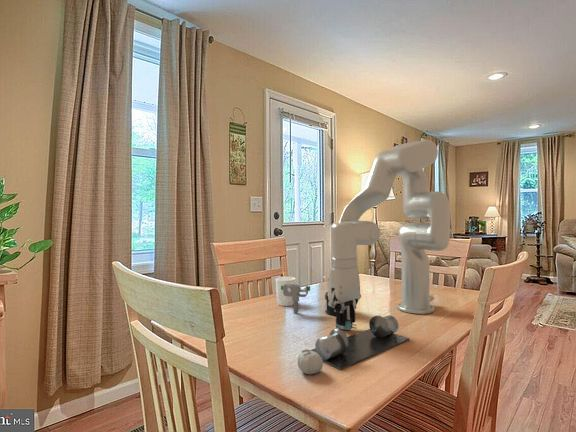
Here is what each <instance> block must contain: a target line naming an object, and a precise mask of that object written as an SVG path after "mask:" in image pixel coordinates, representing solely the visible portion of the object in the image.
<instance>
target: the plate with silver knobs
mask: <svg viewBox="0 0 576 432" xmlns="http://www.w3.org/2000/svg"><path fill="white" fill-rule="evenodd" d="M368 326H369V328H367V329H366V330H363V331H359V332H358V333H355V334H352V335H349V336H348V335H347V334H346V332H345V331H344V330H343V329H339V328H335V329H332V330H331V331H330V333H329V334H328V335H326V336H323V337H320V338H317V340H316V341H315V344H314V347H315V348H312V349H310V350H309V349H308V350H309V351H314V352H316V353H317V354H319V355H320V357H321V358H322V360H323V363H325V364H327V365H328V366H331V367H334V368H336V369H337V370H340V371H343V370H345V369H347V368H349V367H351V366H354V365H356V364H358V363H361V362H363V361H365V360H368V359H370V358H372V357H375V356H377V355H379V354H381V353H383V352H386V351H388V350H391V349H393V348H394V347H397V346H400V345H402V344H404V343H406V342H409V341H410V337H407V336H403V335H401V334H396V332H398V330H399V322H398V320H397V318H395V316H393V315H386V316H380V315H375V316H372V317H371V318H370V320H369V325H368Z"/></svg>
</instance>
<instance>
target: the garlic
mask: <svg viewBox="0 0 576 432" xmlns="http://www.w3.org/2000/svg"><path fill="white" fill-rule="evenodd" d="M323 366H324V362H323V360H322V358H321V357H320V355H319V354H317V353H316V352H314V351H309V349H308V348H305V349H302V350H301V353H300V352H299V354H298V357H297V367H298V369H299V370H300V371H301V372H302V373H304V374H307V375H314V374H317V373H318V372H320V371H322V370H323Z"/></svg>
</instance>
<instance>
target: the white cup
mask: <svg viewBox="0 0 576 432" xmlns="http://www.w3.org/2000/svg"><path fill="white" fill-rule="evenodd" d="M296 279H297V278H296V277H294V276H278V277H275V291H276V303H277V305H278V306H282V307H289V306H294V304H293V301H292V297H289V296H284V294H283V290H281V285H284V284H296V282H297V281H296ZM287 290H288V291H291V289H290V288H288V289H287Z"/></svg>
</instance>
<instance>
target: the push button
mask: <svg viewBox="0 0 576 432" xmlns="http://www.w3.org/2000/svg"><path fill="white" fill-rule="evenodd" d="M336 301H337V300H336ZM351 301H352V300H350V301H347V302H344V313H345V326H341V325H338V324H337V323H336V322H335V329H341V330H347V331H350V330H351V329H358V327H355V326H358V324H355V323H353V322H352V319H350V311H349V305H351ZM337 305H338V306H339V307H340V304H338V303H337ZM346 307H347V309H346Z"/></svg>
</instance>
